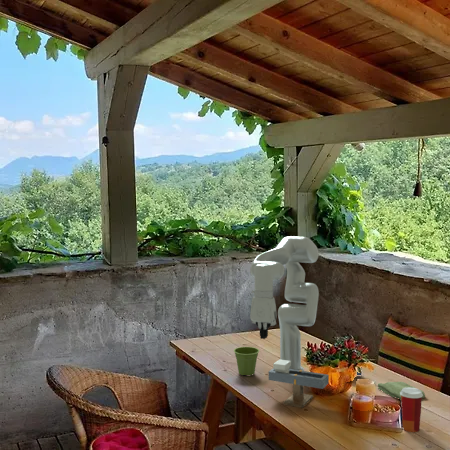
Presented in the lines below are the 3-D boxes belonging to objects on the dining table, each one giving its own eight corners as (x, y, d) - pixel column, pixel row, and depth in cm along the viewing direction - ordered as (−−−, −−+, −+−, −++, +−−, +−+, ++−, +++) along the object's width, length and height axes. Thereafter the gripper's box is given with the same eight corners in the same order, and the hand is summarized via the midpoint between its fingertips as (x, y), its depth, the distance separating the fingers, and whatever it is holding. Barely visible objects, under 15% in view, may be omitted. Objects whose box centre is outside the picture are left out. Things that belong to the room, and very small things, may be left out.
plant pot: (229, 376, 264) (229, 352, 263) (240, 368, 274) (240, 345, 273) (252, 380, 258) (252, 355, 258) (263, 372, 269) (263, 348, 268)
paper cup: (417, 424, 209) (418, 386, 208) (425, 433, 201) (426, 394, 200) (396, 424, 209) (396, 387, 208) (403, 434, 201) (404, 394, 200)
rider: (273, 374, 234) (273, 363, 233) (279, 370, 239) (279, 359, 239) (284, 376, 231) (284, 365, 231) (290, 372, 237) (290, 360, 236)
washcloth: (401, 385, 251) (401, 378, 251) (427, 399, 234) (427, 391, 234) (375, 389, 247) (375, 381, 246) (399, 403, 230) (400, 395, 230)
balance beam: (266, 401, 233) (266, 372, 232) (277, 391, 243) (277, 364, 242) (320, 411, 222) (320, 381, 221) (330, 400, 232) (330, 372, 232)
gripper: (243, 294, 237) (243, 338, 238) (276, 297, 230) (276, 342, 231) (251, 291, 243) (251, 334, 244) (284, 294, 236) (284, 338, 237)
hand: (263, 338), depth 238 cm, fingers closed
